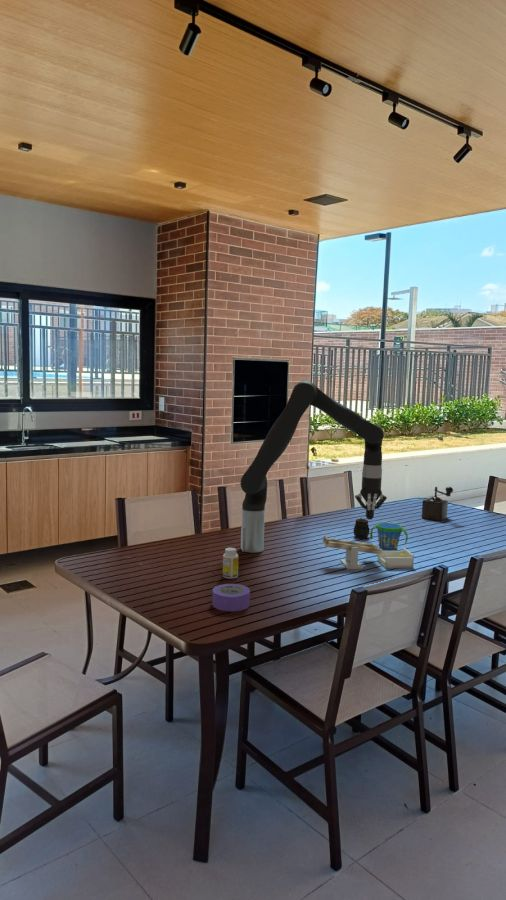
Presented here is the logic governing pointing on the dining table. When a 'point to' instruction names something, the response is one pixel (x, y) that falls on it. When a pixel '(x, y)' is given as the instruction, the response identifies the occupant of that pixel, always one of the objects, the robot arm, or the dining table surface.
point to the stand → (351, 559)
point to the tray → (396, 559)
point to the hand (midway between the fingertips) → (369, 519)
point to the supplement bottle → (230, 563)
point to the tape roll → (231, 597)
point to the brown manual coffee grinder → (436, 506)
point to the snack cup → (389, 535)
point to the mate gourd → (361, 528)
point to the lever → (352, 545)
